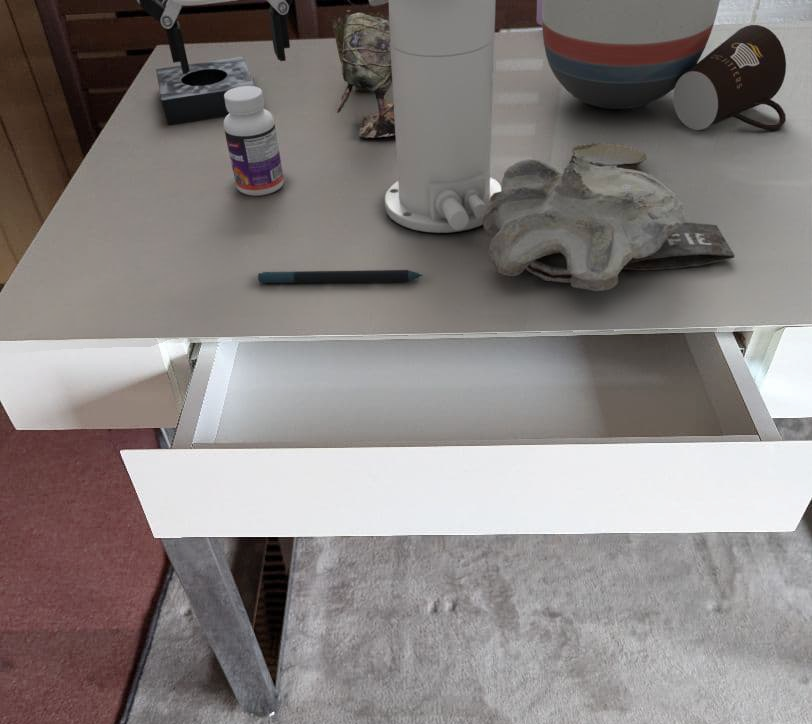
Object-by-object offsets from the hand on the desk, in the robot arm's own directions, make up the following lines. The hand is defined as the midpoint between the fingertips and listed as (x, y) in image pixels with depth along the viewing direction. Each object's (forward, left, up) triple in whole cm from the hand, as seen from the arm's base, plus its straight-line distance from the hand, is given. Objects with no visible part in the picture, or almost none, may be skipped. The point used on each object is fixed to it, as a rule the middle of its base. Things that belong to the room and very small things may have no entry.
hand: (233, 62), depth 81 cm
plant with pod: (+10, -17, -13) cm, 24 cm away
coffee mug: (-6, -51, -10) cm, 52 cm away
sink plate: (+28, +3, -13) cm, 31 cm away
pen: (-28, -10, -11) cm, 32 cm away
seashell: (-11, -37, -13) cm, 41 cm away
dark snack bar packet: (-29, -31, -13) cm, 44 cm away
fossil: (-23, -32, -12) cm, 41 cm away
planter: (+7, -47, -13) cm, 49 cm away
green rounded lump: (+24, -18, -13) cm, 33 cm away
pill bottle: (0, 0, -13) cm, 13 cm away
